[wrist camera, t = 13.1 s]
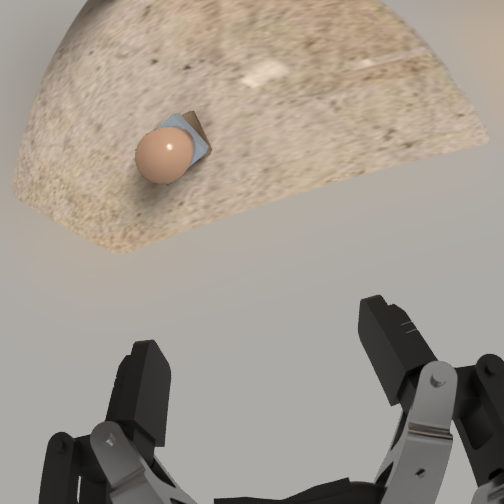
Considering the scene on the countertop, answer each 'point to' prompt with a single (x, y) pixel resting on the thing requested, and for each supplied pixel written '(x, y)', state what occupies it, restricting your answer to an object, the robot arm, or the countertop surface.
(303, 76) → the countertop surface
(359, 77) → the countertop surface
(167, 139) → the tan rounded cylinder
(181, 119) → the tower top
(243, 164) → the countertop surface
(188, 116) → the tower base
